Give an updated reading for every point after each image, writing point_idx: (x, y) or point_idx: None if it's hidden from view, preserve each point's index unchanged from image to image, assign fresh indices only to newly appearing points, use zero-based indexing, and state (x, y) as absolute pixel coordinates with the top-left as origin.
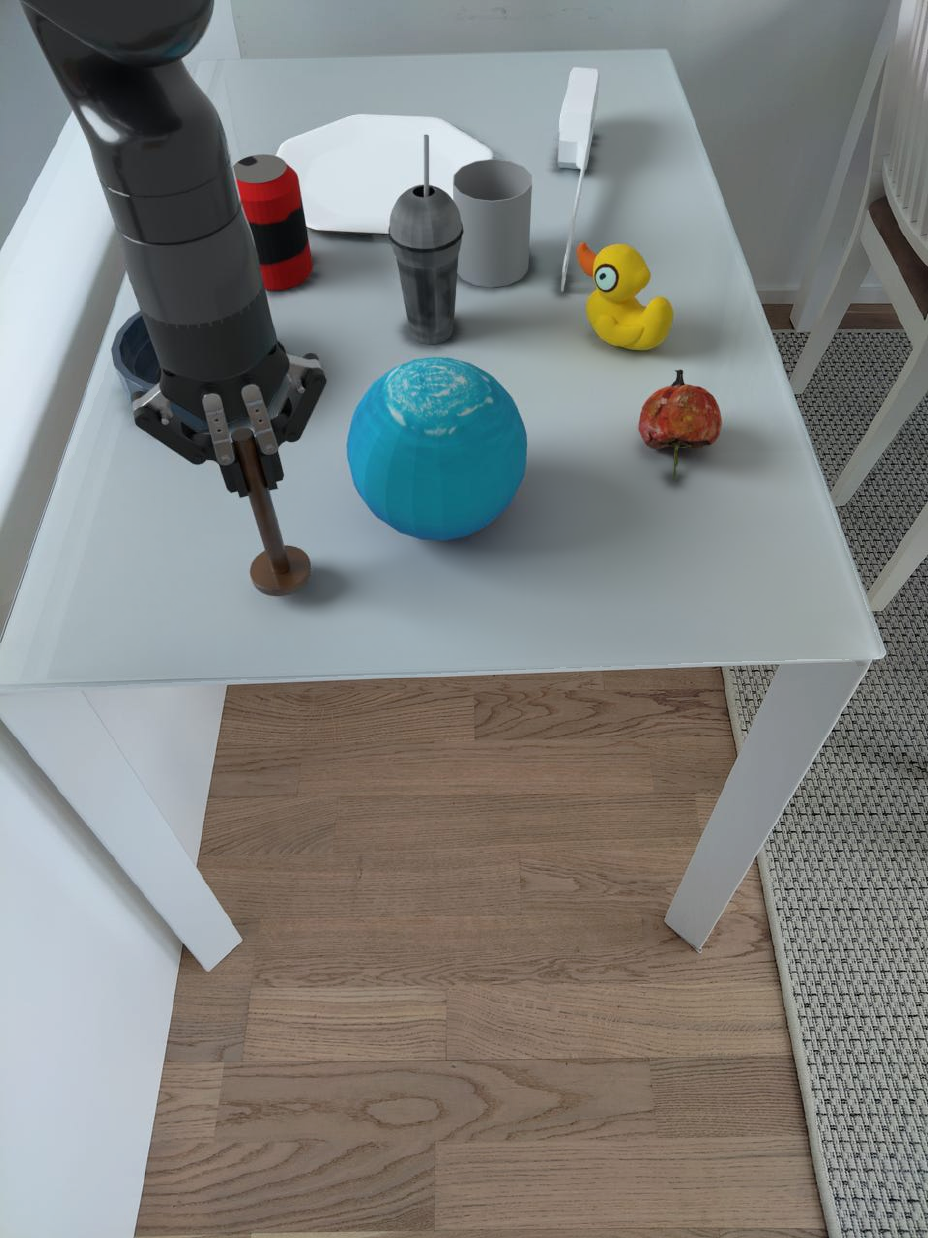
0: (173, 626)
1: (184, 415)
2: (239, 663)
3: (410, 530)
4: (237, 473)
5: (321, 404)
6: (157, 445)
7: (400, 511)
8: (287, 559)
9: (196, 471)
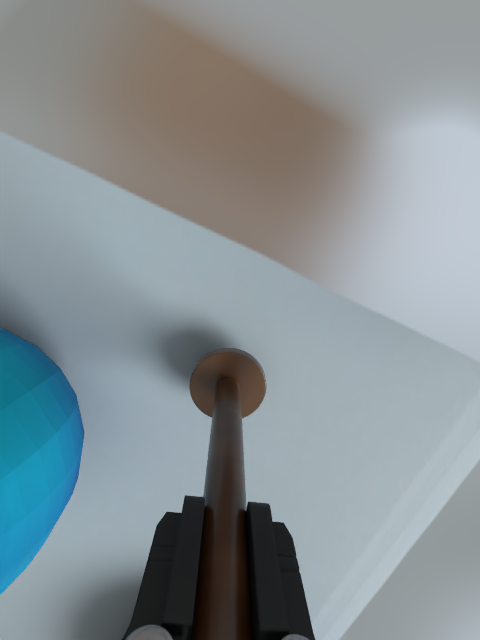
0: (357, 375)
1: None
2: (313, 296)
3: (29, 350)
4: (267, 581)
5: (102, 583)
6: None
7: (6, 371)
8: (216, 390)
9: None
